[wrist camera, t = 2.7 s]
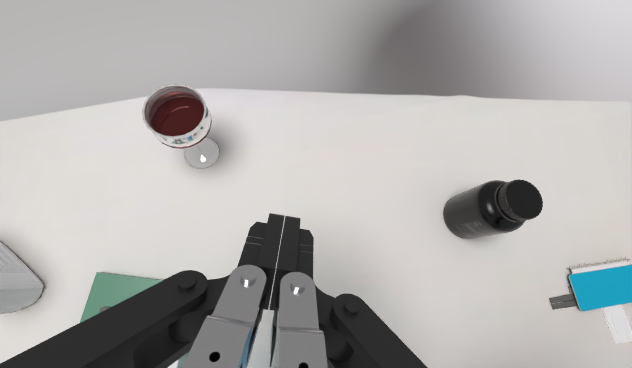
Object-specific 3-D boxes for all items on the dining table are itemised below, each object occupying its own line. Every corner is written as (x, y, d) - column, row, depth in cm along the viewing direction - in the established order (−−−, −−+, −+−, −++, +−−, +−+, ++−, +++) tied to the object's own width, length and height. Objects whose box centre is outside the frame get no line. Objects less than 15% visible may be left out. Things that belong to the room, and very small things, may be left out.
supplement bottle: (491, 230, 46) (562, 217, 34) (454, 245, 44) (515, 236, 33) (471, 190, 47) (532, 164, 36) (435, 203, 46) (486, 180, 35)
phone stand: (562, 353, 42) (573, 356, 41) (535, 267, 46) (544, 267, 44) (673, 330, 46) (687, 332, 44) (641, 251, 49) (653, 250, 47)
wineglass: (217, 126, 45) (196, 76, 34) (231, 165, 44) (215, 127, 32) (171, 139, 44) (134, 93, 32) (185, 180, 42) (150, 147, 31)
